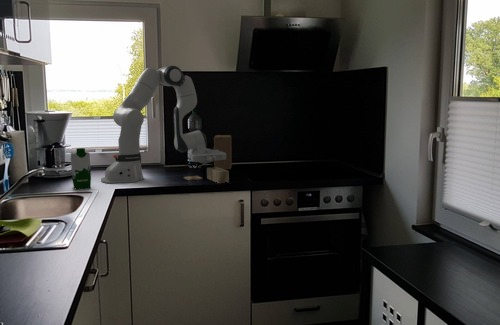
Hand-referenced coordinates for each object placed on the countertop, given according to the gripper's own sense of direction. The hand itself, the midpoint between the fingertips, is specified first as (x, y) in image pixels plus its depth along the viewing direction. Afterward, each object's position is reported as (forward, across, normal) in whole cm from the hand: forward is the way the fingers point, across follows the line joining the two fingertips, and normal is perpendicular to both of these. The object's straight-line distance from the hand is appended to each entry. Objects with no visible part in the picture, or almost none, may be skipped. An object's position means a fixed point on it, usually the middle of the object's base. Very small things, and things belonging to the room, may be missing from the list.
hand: (213, 158), depth 267 cm
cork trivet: (-6, -10, +11) cm, 16 cm away
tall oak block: (-3, 0, +8) cm, 9 cm away
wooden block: (-30, +19, +11) cm, 37 cm away
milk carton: (-9, -68, +11) cm, 69 cm away
